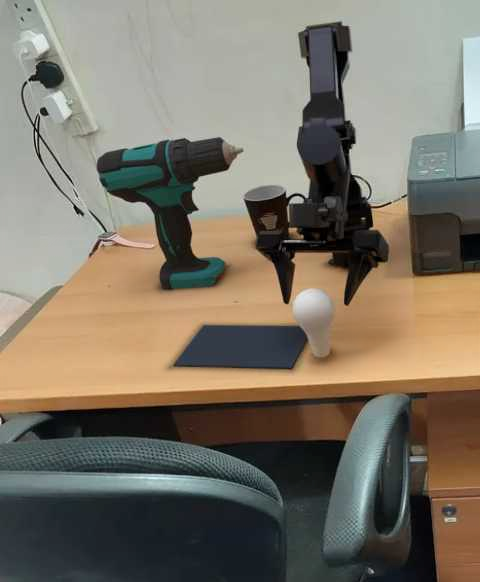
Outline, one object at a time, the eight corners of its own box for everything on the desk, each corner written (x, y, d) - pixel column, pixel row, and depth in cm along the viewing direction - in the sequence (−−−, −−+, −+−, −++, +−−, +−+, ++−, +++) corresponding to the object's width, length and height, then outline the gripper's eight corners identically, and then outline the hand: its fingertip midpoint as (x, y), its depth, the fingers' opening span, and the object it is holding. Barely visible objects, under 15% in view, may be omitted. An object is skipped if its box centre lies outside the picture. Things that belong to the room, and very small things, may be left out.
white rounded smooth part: (306, 372, 97) (293, 305, 90) (298, 351, 102) (285, 286, 95) (346, 362, 98) (336, 294, 91) (337, 342, 102) (326, 277, 96)
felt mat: (313, 327, 107) (313, 326, 107) (292, 369, 98) (291, 367, 98) (203, 326, 112) (203, 325, 112) (173, 366, 103) (173, 364, 103)
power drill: (274, 262, 129) (245, 125, 113) (264, 283, 122) (232, 140, 106) (148, 271, 133) (103, 140, 117) (132, 292, 126) (82, 155, 110)
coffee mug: (247, 249, 135) (235, 200, 129) (263, 232, 142) (253, 185, 135) (299, 250, 132) (290, 200, 126) (314, 232, 138) (306, 184, 132)
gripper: (245, 175, 91) (231, 285, 90) (375, 170, 86) (362, 287, 85) (276, 209, 102) (265, 308, 101) (394, 207, 97) (383, 312, 95)
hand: (315, 304), depth 95 cm, fingers open, 9 cm apart
